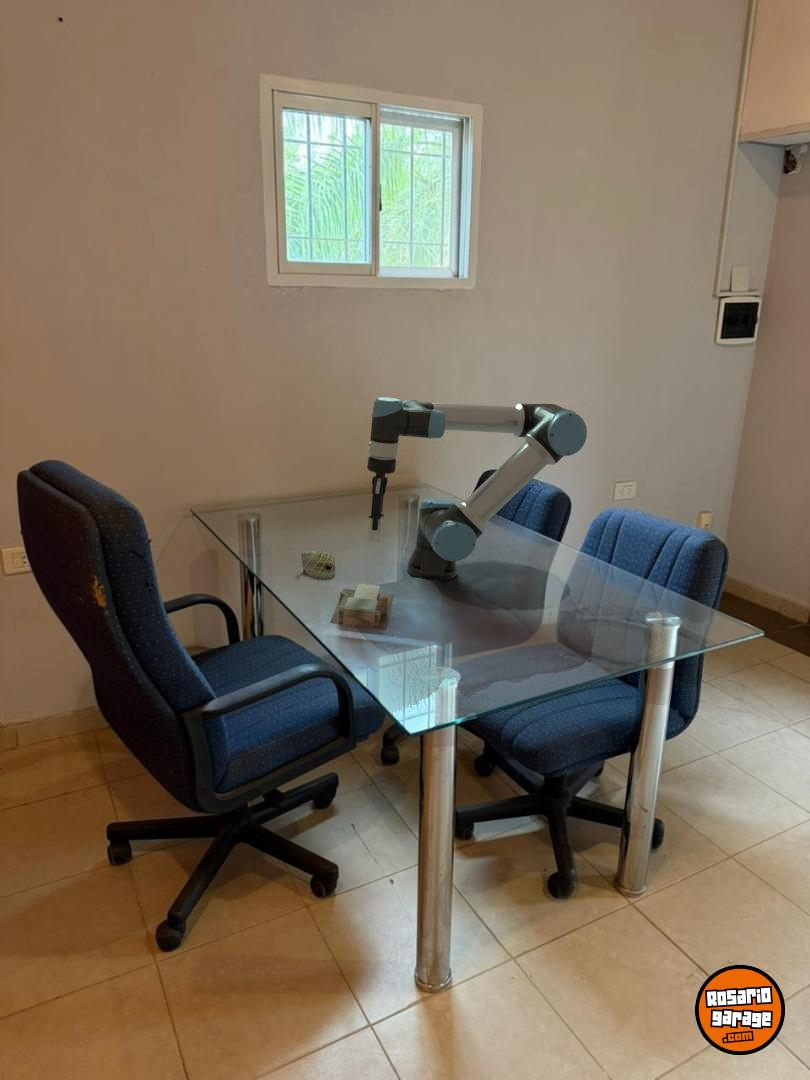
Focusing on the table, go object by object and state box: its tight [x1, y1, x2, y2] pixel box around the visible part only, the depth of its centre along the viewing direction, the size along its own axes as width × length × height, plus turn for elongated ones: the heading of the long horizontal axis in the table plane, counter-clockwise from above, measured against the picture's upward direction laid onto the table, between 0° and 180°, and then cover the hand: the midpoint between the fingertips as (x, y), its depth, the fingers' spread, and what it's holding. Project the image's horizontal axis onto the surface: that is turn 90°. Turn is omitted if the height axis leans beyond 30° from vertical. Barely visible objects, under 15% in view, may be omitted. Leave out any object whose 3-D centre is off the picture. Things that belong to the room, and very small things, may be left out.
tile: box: [354, 583, 381, 600], centre depth 200 cm, size 6×11×2 cm, turn 177°
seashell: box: [300, 550, 336, 580], centre depth 216 cm, size 10×10×10 cm
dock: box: [329, 588, 394, 631], centre depth 194 cm, size 14×23×6 cm, turn 177°
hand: (373, 539), depth 207 cm, fingers closed
